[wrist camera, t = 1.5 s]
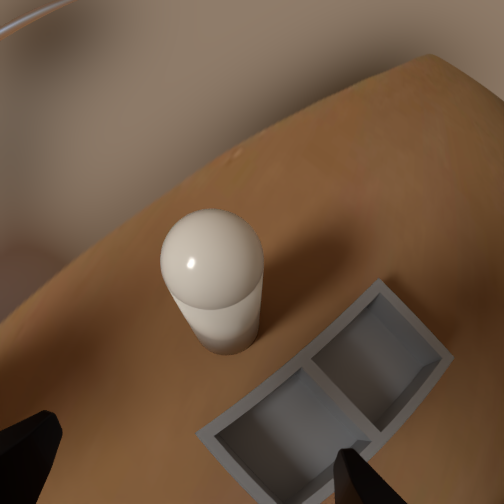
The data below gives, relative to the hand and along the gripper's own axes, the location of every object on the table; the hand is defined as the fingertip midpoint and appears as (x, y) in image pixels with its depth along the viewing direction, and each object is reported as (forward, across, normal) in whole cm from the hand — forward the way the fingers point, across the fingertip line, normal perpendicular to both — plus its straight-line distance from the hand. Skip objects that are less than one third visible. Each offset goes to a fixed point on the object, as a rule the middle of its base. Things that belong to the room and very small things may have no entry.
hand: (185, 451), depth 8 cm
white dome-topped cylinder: (+15, 0, +4) cm, 16 cm away
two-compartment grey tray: (+11, -7, +8) cm, 15 cm away
